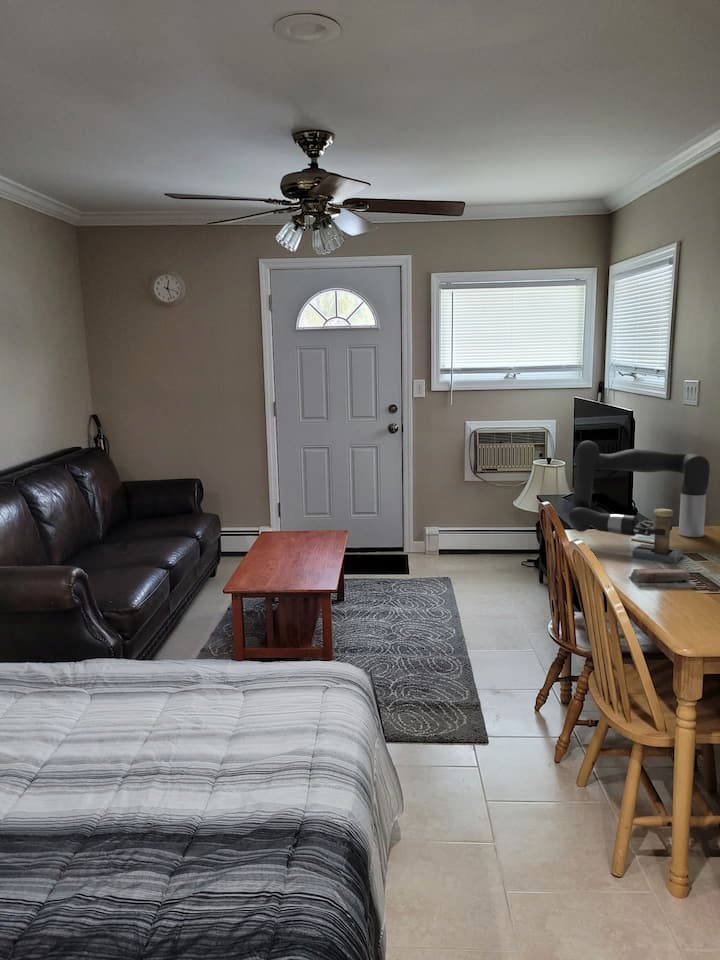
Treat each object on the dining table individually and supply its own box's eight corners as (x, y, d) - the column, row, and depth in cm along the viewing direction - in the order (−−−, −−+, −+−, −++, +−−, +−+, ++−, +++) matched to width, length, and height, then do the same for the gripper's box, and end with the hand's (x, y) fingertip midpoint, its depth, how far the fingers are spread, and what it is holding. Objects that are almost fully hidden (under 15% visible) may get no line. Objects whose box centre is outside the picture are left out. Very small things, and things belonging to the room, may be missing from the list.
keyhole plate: (674, 563, 241) (674, 556, 241) (630, 557, 251) (630, 550, 250) (682, 556, 250) (682, 549, 250) (639, 550, 260) (639, 543, 259)
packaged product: (638, 574, 217) (628, 565, 226) (638, 589, 217) (628, 579, 227) (697, 574, 215) (684, 565, 225) (696, 589, 216) (684, 579, 226)
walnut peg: (654, 554, 254) (656, 508, 251) (672, 556, 250) (674, 509, 247) (649, 558, 249) (651, 511, 246) (668, 560, 245) (670, 513, 242)
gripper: (617, 518, 250) (664, 524, 240) (629, 511, 261) (674, 516, 251) (616, 538, 251) (662, 544, 242) (628, 530, 263) (673, 536, 253)
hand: (668, 530), depth 246 cm, fingers open, 8 cm apart
